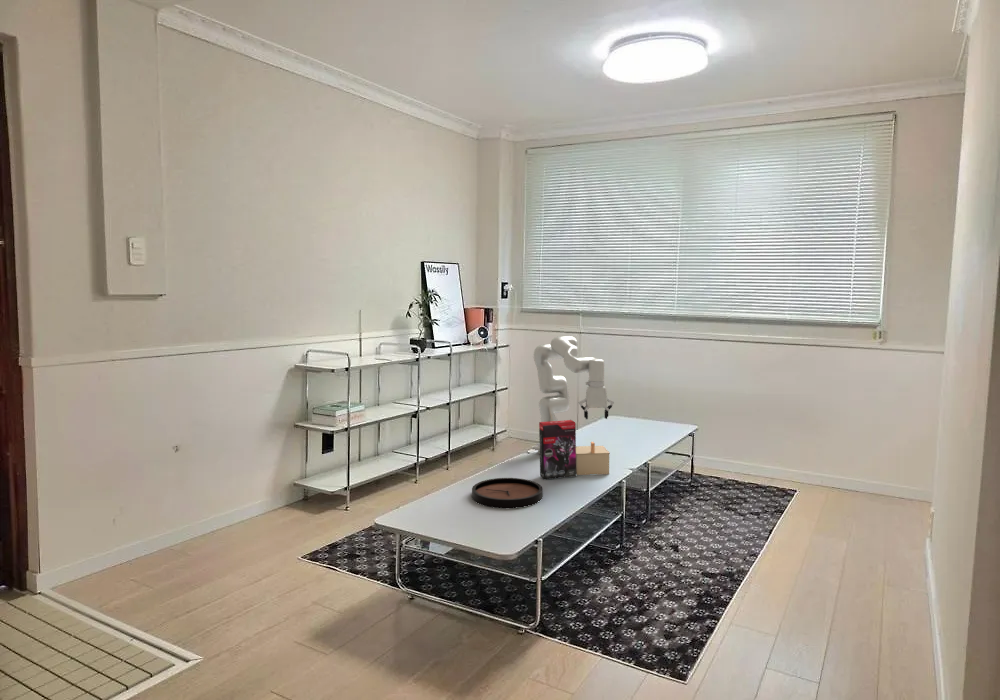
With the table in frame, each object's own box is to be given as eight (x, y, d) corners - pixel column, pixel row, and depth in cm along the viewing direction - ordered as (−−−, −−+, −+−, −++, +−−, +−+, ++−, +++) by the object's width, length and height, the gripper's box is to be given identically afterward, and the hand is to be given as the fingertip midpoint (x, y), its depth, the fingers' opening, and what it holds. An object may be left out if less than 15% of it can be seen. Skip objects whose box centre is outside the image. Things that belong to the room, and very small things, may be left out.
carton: (577, 475, 331) (577, 455, 330) (571, 467, 345) (571, 447, 344) (609, 474, 333) (609, 454, 331) (602, 466, 346) (602, 447, 345)
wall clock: (557, 488, 300) (507, 505, 278) (557, 496, 300) (507, 514, 278) (507, 473, 322) (457, 488, 300) (507, 481, 322) (457, 497, 301)
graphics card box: (543, 480, 323) (543, 424, 320) (538, 476, 329) (538, 421, 326) (576, 477, 327) (577, 422, 324) (571, 473, 334) (571, 419, 331)
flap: (576, 454, 330) (576, 443, 329) (571, 447, 344) (571, 436, 343) (609, 454, 331) (609, 442, 331) (603, 446, 345) (603, 436, 345)
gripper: (580, 385, 327) (580, 420, 329) (615, 385, 328) (615, 419, 330) (577, 383, 335) (577, 417, 337) (612, 382, 336) (611, 416, 338)
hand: (596, 418), depth 333 cm, fingers open, 9 cm apart
